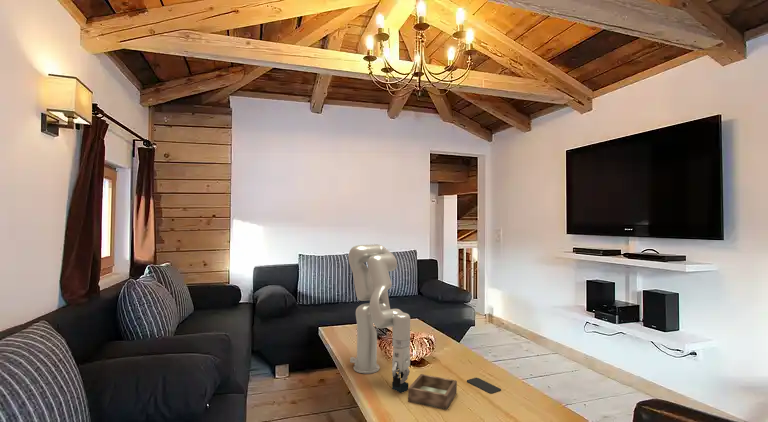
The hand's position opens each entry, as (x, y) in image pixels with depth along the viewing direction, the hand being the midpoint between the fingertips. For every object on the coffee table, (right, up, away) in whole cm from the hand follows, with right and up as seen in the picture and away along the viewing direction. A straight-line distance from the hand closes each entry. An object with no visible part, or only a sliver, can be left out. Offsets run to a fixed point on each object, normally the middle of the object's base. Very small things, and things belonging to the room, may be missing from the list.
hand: (400, 382), depth 179 cm
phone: (+37, -4, +6) cm, 38 cm away
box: (+13, -3, -7) cm, 15 cm away
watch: (0, -3, 0) cm, 3 cm away
